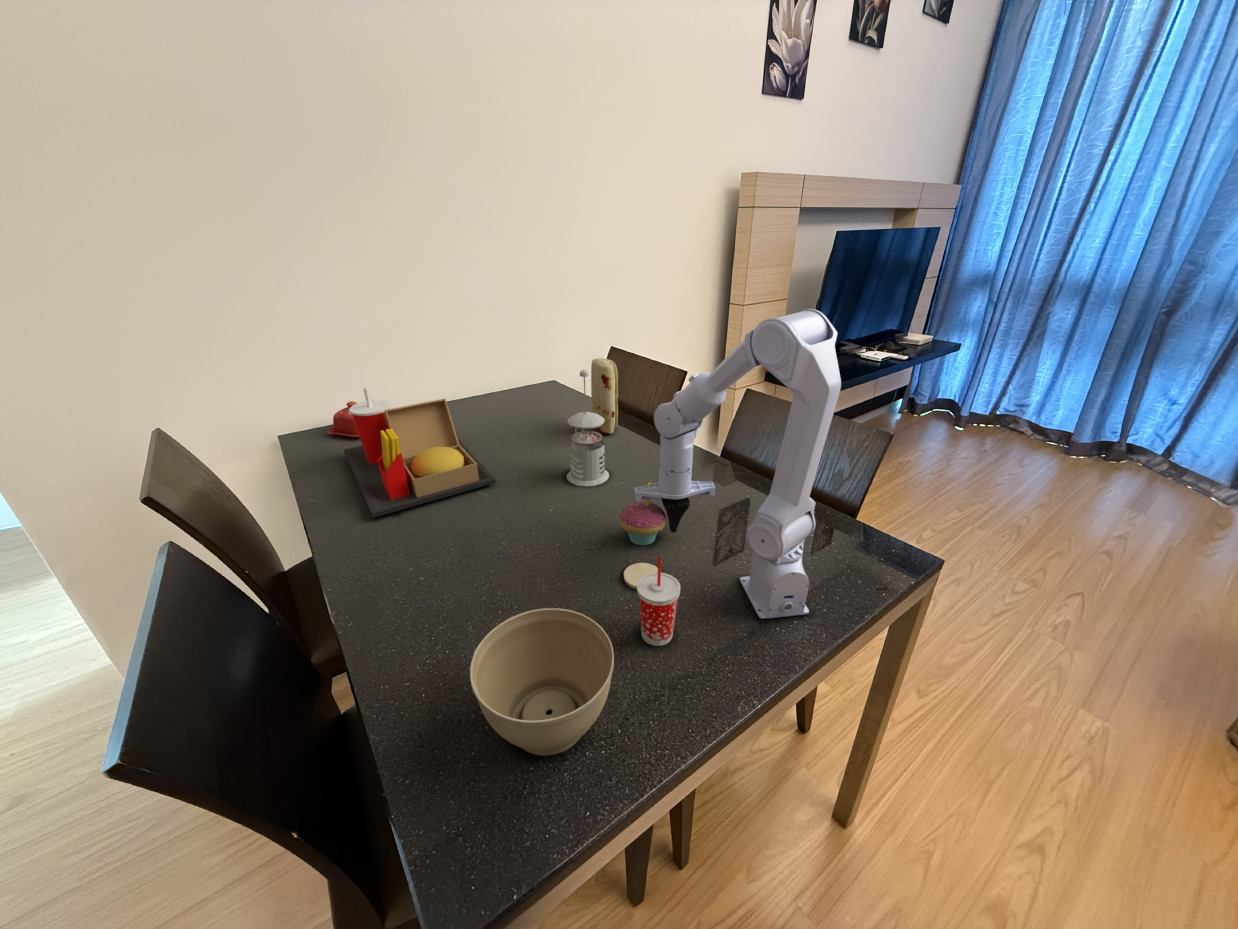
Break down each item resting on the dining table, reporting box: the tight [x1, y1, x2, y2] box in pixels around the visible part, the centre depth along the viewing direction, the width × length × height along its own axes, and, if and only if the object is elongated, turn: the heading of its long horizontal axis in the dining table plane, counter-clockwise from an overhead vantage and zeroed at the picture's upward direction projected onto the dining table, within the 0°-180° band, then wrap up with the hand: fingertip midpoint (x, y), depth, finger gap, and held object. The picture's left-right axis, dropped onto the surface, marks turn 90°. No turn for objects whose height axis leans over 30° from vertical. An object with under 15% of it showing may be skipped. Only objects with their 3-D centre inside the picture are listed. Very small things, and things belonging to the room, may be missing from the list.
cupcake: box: [619, 477, 667, 546], centre depth 96 cm, size 9×8×12 cm
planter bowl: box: [469, 607, 615, 757], centre depth 62 cm, size 16×16×11 cm
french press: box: [566, 369, 610, 487], centre depth 116 cm, size 10×12×25 cm
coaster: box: [623, 562, 658, 590], centre depth 89 cm, size 6×6×1 cm
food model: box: [590, 357, 619, 436], centre depth 139 cm, size 10×7×20 cm
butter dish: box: [326, 400, 360, 438], centre depth 142 cm, size 12×12×8 cm
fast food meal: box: [343, 387, 496, 518], centre depth 119 cm, size 26×35×18 cm
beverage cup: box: [636, 555, 681, 647], centre depth 74 cm, size 6×6×14 cm
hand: (672, 529), depth 99 cm, fingers closed
